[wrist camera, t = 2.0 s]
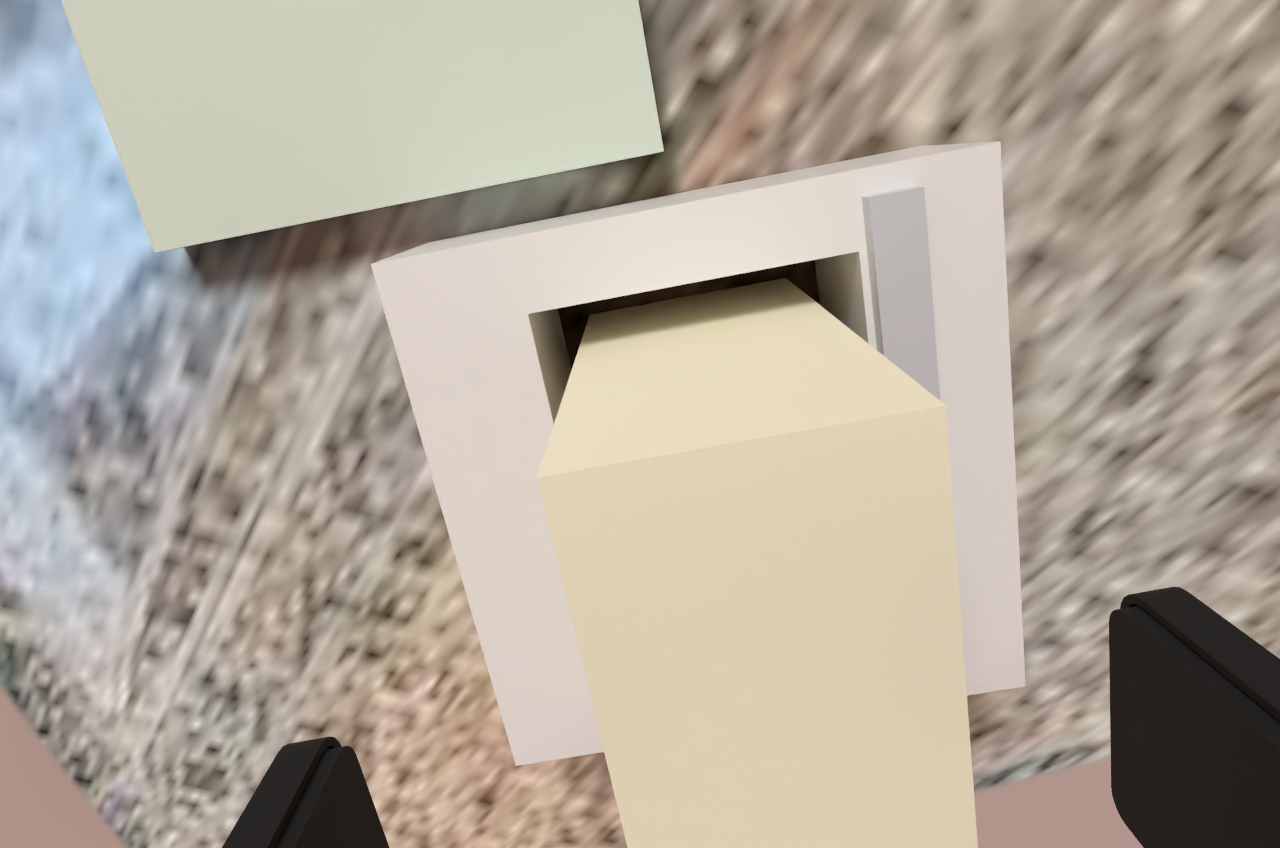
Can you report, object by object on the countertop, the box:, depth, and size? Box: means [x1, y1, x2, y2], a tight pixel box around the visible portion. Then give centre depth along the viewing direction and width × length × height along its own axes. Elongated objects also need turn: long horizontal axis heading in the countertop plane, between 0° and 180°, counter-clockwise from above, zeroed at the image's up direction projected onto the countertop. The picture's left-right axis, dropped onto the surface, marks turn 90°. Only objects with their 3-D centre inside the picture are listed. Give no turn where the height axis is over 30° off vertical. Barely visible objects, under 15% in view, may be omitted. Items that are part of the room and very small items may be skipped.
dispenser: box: [371, 142, 1025, 766], centre depth 19 cm, size 12×12×5 cm
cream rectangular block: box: [536, 278, 978, 848], centre depth 16 cm, size 5×7×11 cm
